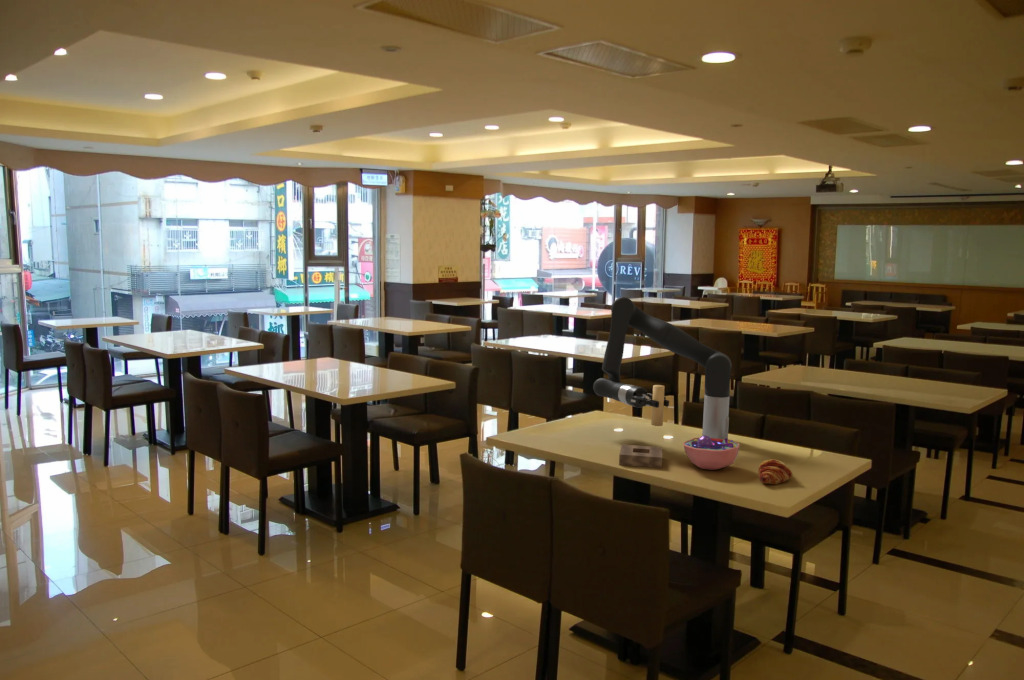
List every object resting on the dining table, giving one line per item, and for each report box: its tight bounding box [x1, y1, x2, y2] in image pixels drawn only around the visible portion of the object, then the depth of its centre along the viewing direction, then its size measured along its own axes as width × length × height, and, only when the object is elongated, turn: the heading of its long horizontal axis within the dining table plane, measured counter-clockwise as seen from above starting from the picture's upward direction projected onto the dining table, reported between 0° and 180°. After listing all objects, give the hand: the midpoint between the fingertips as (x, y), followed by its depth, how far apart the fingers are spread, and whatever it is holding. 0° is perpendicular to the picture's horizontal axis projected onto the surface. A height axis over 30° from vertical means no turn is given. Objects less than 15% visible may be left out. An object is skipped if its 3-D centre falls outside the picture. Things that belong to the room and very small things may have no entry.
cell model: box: [682, 435, 741, 471], centre depth 253 cm, size 17×20×11 cm
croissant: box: [757, 458, 793, 485], centre depth 242 cm, size 21×10×8 cm, turn 146°
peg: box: [650, 384, 666, 427], centre depth 270 cm, size 4×4×14 cm
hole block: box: [618, 444, 663, 469], centre depth 259 cm, size 14×14×4 cm
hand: (663, 404), depth 268 cm, fingers closed on peg, 4 cm apart
